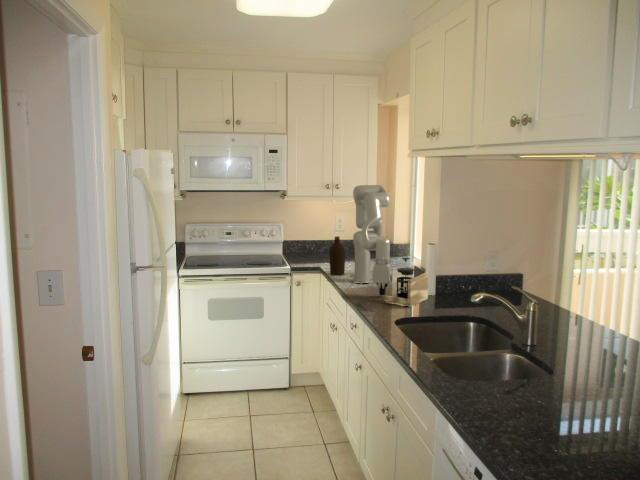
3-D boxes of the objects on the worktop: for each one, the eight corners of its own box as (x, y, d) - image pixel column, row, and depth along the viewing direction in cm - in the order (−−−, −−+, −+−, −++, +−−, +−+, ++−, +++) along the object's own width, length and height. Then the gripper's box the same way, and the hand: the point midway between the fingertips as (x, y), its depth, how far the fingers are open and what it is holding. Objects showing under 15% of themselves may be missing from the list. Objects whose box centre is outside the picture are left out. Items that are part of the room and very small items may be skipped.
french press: (398, 304, 251) (399, 260, 247) (392, 299, 260) (392, 256, 256) (420, 302, 253) (421, 258, 250) (412, 297, 262) (413, 255, 259)
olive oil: (336, 276, 316) (336, 238, 312) (326, 274, 324) (325, 236, 320) (348, 274, 322) (348, 236, 319) (338, 271, 330) (337, 235, 327)
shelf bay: (383, 303, 252) (384, 276, 250) (402, 294, 269) (402, 269, 267) (410, 307, 244) (410, 280, 242) (427, 298, 260) (428, 272, 258)
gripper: (367, 261, 263) (366, 294, 266) (391, 264, 255) (391, 298, 257) (374, 259, 269) (373, 291, 272) (398, 262, 261) (398, 295, 263)
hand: (382, 294), depth 265 cm, fingers closed
